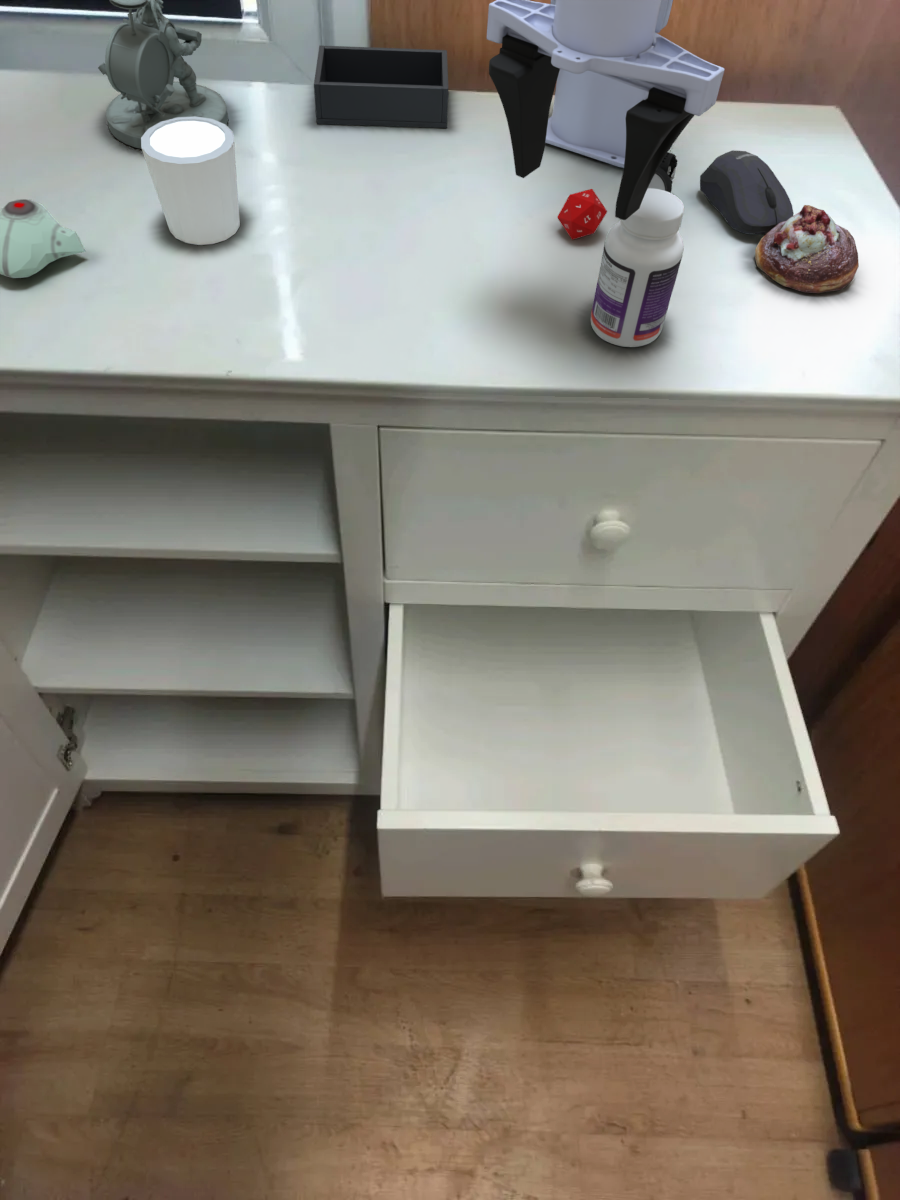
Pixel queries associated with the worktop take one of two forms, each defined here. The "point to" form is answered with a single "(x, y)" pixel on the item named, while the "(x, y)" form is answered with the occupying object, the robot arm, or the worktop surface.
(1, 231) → the robot head
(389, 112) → the bin
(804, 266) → the pastry
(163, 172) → the white cylinder
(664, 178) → the smartwatch
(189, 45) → the figurine
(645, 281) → the pill bottle
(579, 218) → the die
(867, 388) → the worktop surface
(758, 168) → the computer mouse
